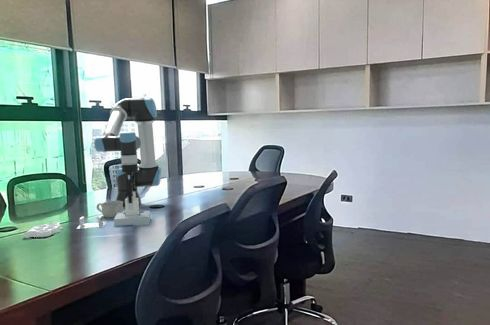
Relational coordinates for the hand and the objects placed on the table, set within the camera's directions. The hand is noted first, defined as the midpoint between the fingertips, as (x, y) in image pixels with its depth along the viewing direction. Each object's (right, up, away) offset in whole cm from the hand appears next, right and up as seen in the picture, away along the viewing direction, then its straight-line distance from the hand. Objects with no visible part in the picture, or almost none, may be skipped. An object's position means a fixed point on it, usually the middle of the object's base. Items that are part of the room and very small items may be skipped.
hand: (132, 206), depth 195 cm
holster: (-18, -9, -5) cm, 21 cm away
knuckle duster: (-35, -11, -14) cm, 40 cm away
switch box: (0, -8, +1) cm, 8 cm away
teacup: (-16, -7, +15) cm, 23 cm away
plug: (0, -8, +1) cm, 8 cm away
